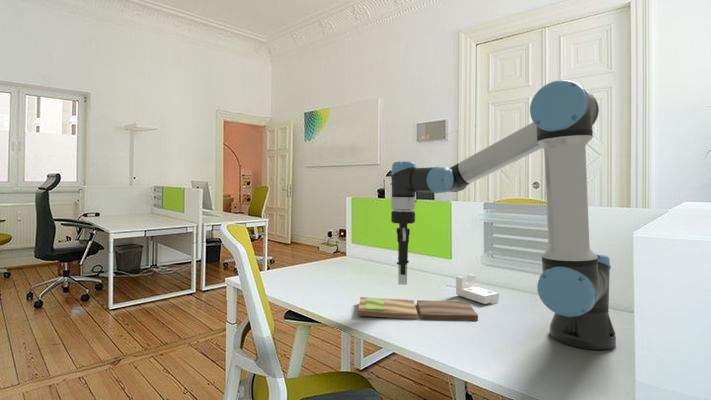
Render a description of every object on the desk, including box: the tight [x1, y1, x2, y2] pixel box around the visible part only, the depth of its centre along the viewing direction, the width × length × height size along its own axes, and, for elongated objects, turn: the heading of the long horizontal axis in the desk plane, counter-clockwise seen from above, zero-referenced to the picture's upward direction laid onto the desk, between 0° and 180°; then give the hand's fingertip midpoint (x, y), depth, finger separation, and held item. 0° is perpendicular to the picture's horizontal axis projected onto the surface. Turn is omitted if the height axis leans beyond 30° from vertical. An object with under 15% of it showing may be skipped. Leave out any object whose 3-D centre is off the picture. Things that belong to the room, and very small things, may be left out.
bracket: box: [455, 273, 500, 305], centre depth 137 cm, size 13×7×8 cm, turn 31°
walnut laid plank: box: [416, 299, 479, 321], centre depth 124 cm, size 14×17×2 cm
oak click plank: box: [357, 296, 418, 320], centre depth 125 cm, size 14×18×2 cm
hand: (402, 283), depth 124 cm, fingers closed
